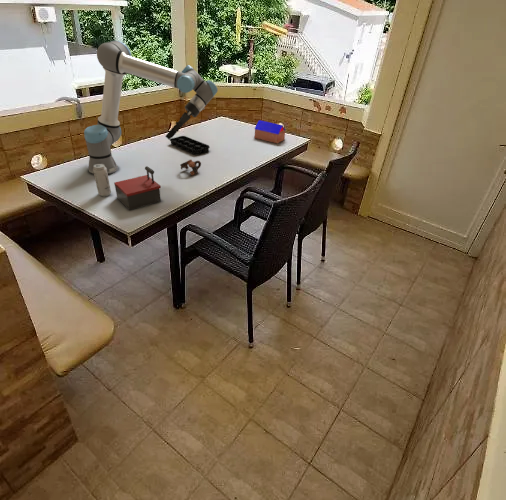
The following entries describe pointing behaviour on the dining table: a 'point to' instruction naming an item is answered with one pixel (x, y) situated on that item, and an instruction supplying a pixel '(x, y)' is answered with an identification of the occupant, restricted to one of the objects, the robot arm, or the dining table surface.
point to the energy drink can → (102, 180)
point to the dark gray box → (138, 198)
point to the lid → (138, 184)
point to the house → (269, 132)
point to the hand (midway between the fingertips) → (168, 137)
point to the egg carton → (190, 145)
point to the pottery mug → (192, 165)
